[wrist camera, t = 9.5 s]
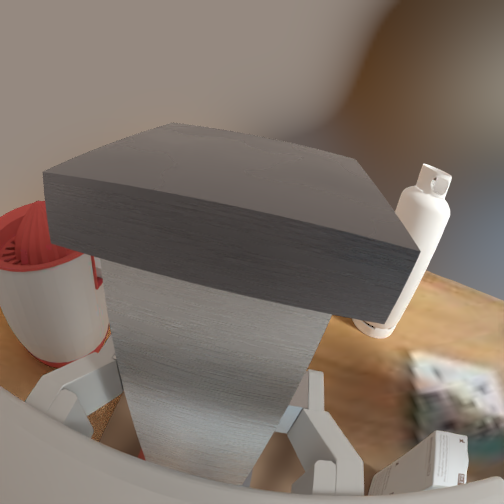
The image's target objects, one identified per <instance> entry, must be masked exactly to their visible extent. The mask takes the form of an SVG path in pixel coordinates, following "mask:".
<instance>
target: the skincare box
mask: <svg viewBox="0 0 504 504" xmlns="http://www.w3.org/2000/svg"><path fill="white" fill-rule="evenodd" d="M467 446H468V437H467V436H464V435H460V434H454V433H449V432H445V431H439V430H435V431H434V432H433V433H432V434H430V435H429V436H428V437H427V438H425V439H424V440H423V441H422V442H420V443H419V444H418V445H416V446H415V447H414V448H412V449H411V450H410V451H408V452H407V453H406V454H404V455H403V456H401V457H400V458H399V459H397V460H396V461H394V462H393V463H391V464H390V465H388V466H387V467H385V468H384V469H382V470H381V471H379V472H378V473H376V474H375V475H374V477H373V479H372V482H371V486H370V489H369V493H368V496H371V495H389V494H401V493H411V492H419V491H427V490H433V489H440V488H445V487H451V486H456V485H461V484H465V483H466V478H467V469H468V463H469V459H468V450H467Z"/></svg>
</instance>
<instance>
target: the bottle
mask: <svg viewBox="0 0 504 504" xmlns="http://www.w3.org/2000/svg"><path fill="white" fill-rule="evenodd" d="M435 177H437V180H436V181H434V180H433V179H434V178H435ZM451 179H452V176H451V175H449V174H447V173H445V172H443V171H442V170H439V169H437V168H435V167H432V166H430V165H427V164H423V165H422V168H421V171H420V175H419V178H418V181H417V184H416V186H411V187H408V188H406V189H404V191H403V192H402V194H401V197H400V199H399V202H398V205H397V208H396V211H395V213H396V215H397V216H398V218H399V219H400V220H401V222H402V223H403V225H404V226H405V228H406V229H407V231H408V232H409V234H410V235H411V237H412V239H413V240H414V242H415V243H416V245H417V246H418V248H419V250H420V251H421V252H420V254H419V257H418V259H417V261H416V263H415V265H414V268H413V270H412V272H411V274H410V276H409V278H408V280H407V282H406V284H405V286H404V288H403V290H402V292H401V294H400V296H399V298H398V300H397V302H396V304H395V306H394V307H393V309H392V311H391V313H390V315H389V317H388V319H387V320H386V322H385V324H379V323H374V322H369V321H365V322H367V323H368V324H369V325H371V326H374V327H376V328H372V327H370V326H368V325H367V324H366V323H364V322H363V321H362V320H358V319H353V318H352V320H353V322H354V324H355V326H356V327H357V328H358V329H359V330H360V331H362V332H363V333H364V334H366V335H368V336H370V337H374V338H386V337H388V336H390V335H391V334H392V332H393V330H394V329H395V327H396V324H397V323H398V322H399V320H400V318H401V316H402V315H403V313H404V311H405V309H406V307H407V306H408V304H409V302H410V300H411V298H412V296H413V294H414V293H415V291H416V289H417V287H418V285H419V283H420V281H421V279H422V277H423V275H424V273H425V271H426V268H427V266H428V265H429V262H430V260H431V258H432V256H433V254H434V252H435V249H436V247H437V245H438V243H439V240H440V238H441V236H442V234H443V231H444V229H445V226H446V224H447V221H448V219H449V217H450V209H449V206H448V203H447V202H446V200H445V196H446V193H447V190H448V188H449V184H450V182H451ZM431 181H432V182H431ZM438 193H439V194H441V195H439V194H438ZM389 328H391V329H389Z"/></svg>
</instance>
